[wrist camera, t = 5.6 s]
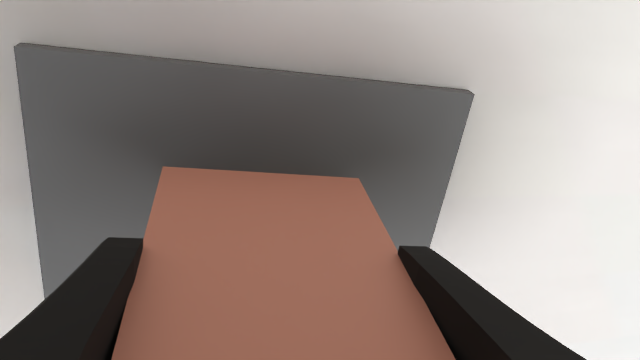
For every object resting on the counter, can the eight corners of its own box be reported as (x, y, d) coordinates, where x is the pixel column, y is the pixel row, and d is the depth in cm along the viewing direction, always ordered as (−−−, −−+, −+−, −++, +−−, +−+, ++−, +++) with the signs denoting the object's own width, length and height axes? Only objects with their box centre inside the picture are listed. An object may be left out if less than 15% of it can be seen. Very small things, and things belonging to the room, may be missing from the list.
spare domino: (162, 166, 12) (39, 632, 4) (358, 178, 13) (564, 563, 5) (162, 222, 13) (55, 716, 5) (348, 229, 14) (515, 638, 6)
